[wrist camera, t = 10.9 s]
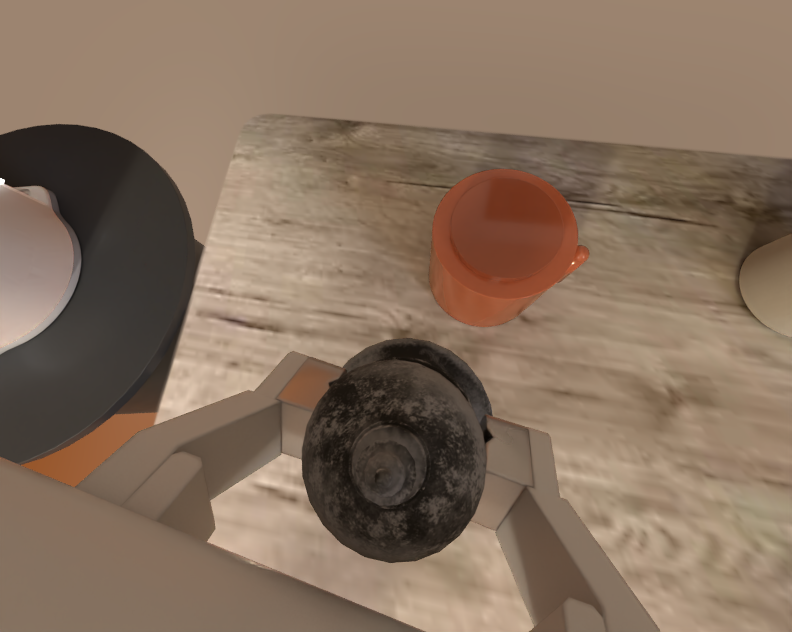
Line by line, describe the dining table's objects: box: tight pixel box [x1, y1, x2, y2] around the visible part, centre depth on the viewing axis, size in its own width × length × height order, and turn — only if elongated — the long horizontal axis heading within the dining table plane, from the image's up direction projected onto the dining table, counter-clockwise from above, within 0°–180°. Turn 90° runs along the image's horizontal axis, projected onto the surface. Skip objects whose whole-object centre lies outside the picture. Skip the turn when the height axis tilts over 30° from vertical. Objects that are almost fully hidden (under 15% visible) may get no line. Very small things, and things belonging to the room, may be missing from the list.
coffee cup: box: [429, 169, 589, 327], centre depth 25 cm, size 10×9×9 cm
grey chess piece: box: [302, 338, 492, 563], centre depth 9 cm, size 6×6×12 cm
